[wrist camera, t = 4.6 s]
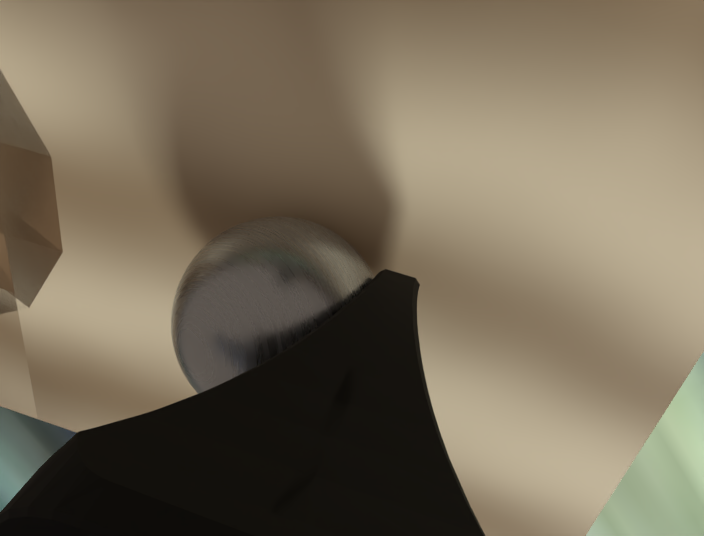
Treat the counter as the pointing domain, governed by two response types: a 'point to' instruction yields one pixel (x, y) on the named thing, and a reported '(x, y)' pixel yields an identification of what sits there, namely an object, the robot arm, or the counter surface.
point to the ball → (259, 295)
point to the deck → (372, 207)
